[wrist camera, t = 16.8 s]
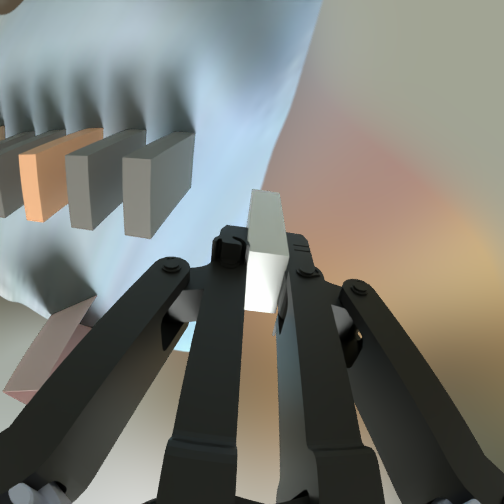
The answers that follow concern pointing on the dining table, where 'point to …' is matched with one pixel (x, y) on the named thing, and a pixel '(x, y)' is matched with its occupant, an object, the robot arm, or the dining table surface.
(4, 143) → the domino
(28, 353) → the greeting card
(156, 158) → the domino
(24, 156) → the orange rectangular block
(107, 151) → the domino
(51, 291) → the dining table surface
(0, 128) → the block
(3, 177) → the domino
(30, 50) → the dining table surface
